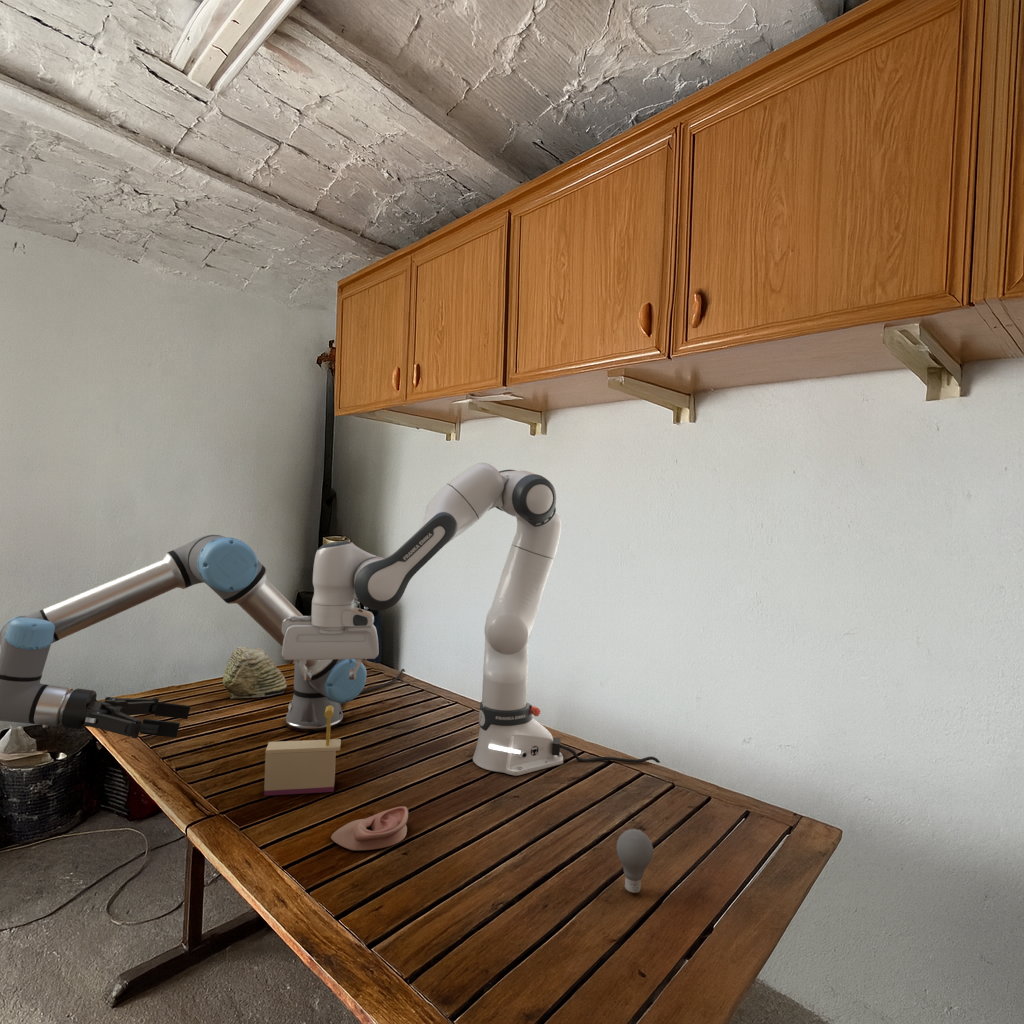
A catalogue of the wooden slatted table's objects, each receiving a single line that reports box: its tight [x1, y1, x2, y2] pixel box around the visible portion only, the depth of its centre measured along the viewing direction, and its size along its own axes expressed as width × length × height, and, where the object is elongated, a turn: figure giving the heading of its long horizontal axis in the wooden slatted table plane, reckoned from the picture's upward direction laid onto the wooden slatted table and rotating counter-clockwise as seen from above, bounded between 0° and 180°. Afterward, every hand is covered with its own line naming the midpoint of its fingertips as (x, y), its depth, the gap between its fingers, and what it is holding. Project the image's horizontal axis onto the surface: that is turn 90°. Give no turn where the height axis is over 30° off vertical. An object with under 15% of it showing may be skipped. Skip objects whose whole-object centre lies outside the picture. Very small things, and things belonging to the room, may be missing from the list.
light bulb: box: [615, 828, 654, 894], centre depth 106 cm, size 6×6×10 cm
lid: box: [265, 705, 342, 755], centre depth 137 cm, size 15×4×9 cm, turn 103°
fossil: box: [222, 646, 288, 699], centre depth 198 cm, size 9×18×15 cm, turn 132°
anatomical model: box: [330, 805, 409, 852], centre depth 119 cm, size 13×4×12 cm
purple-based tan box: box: [263, 751, 337, 797], centre depth 137 cm, size 14×5×9 cm, turn 103°
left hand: (184, 721), depth 132 cm, fingers open, 13 cm apart
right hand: (330, 679), depth 138 cm, fingers open, 8 cm apart
